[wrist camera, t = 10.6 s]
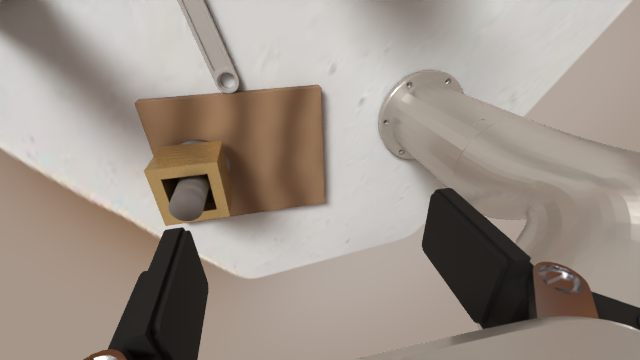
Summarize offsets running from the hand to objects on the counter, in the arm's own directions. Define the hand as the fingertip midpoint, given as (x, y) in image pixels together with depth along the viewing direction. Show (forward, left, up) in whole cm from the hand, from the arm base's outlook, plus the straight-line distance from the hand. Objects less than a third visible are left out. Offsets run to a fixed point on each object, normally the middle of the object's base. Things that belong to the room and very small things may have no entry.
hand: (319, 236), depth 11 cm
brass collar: (+11, +9, -26) cm, 29 cm away
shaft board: (+5, +9, -28) cm, 30 cm away
